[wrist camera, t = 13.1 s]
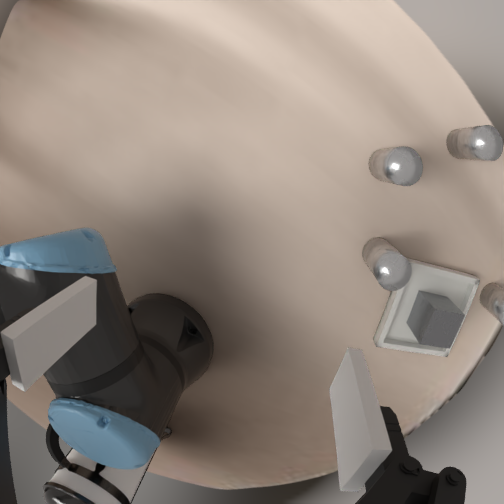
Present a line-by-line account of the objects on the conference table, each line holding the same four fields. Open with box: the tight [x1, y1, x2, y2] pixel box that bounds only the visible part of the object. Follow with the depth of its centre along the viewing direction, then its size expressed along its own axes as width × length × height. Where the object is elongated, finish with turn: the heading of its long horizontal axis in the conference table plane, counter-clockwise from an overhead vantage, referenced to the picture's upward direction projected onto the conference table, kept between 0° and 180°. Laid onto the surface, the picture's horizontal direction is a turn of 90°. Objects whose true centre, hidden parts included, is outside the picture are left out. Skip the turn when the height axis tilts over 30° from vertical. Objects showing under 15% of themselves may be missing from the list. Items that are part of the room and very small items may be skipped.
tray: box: [373, 257, 480, 357], centre depth 40 cm, size 13×13×2 cm
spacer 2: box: [362, 238, 412, 291], centre depth 36 cm, size 4×4×8 cm
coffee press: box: [43, 424, 172, 504], centre depth 38 cm, size 17×16×30 cm
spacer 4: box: [480, 283, 504, 325], centre depth 35 cm, size 4×4×8 cm
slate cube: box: [406, 291, 465, 349], centre depth 37 cm, size 5×5×6 cm
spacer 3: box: [447, 125, 503, 161], centre depth 30 cm, size 4×4×8 cm
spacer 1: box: [369, 147, 423, 186], centre depth 33 cm, size 4×4×8 cm
